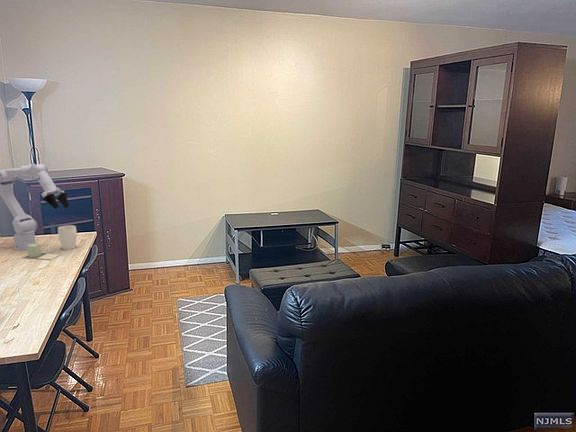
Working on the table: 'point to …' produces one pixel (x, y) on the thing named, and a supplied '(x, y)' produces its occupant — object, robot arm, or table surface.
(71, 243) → the cup
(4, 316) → the table surface
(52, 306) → the table surface
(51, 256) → the mat
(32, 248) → the sage cup
